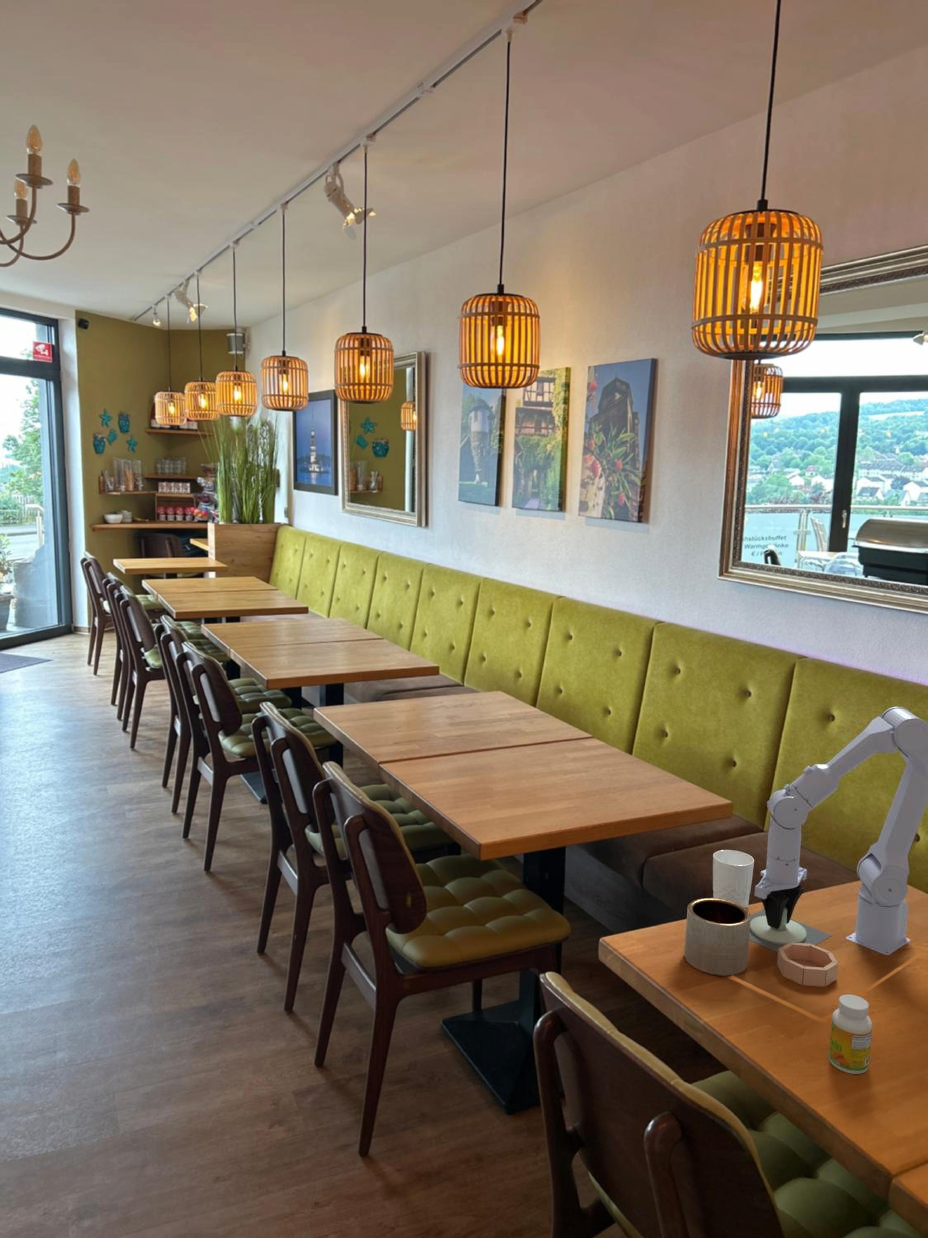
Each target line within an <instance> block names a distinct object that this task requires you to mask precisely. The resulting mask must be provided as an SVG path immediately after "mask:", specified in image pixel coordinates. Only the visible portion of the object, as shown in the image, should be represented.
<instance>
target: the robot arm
mask: <svg viewBox="0 0 928 1238" xmlns="http://www.w3.org/2000/svg"><path fill="white" fill-rule="evenodd" d="M896 748H897V750H898V752H899V753H900V755H901V756H902V758H903V759H904V761H905V763H906V764H905V767H904V770H903V773H902V775H901V778H900V781H899V782H898V783H899V784H898V787H897V789H896V792H895V795H894V796H893V797H894V798H893V800H892V802H891V804H890V808H889V811H888V814H887V816H886V819H885V822H884V824H883V826H882V830H881V832H880V835H879V837H878V840H877V841H876V842H874V843H873V844H871V845H870V847H869V849H868V851H867V853H866V854H865V856H862V858H860V860H859V861H858V863H857V867H856V873H857V877H858V878H859V879H860V880H861V881H860V882H862V883H861V887H860V888H859V890H858V898H857V914H856V924H855V931H854V932H853V933H852V934H850V935H847V936H846V937H845V939H846V940H848V941H850V942H853V943H855V944H858V945H860V946H863V947H865V948H867V949H871V950H873V951H875V952H878V953H880V954H882V955H885V956H890V955H891V954H893V953H894V952H896V951H897V950H898V949H900V948H902V947H903V946H904V945H906V944H908V943H910V942H911V939H910V938H908V937H906V935H907V925H908V916H909V906H908V903H907V901H906V897H907V895H908V892H909V887H908V877H909V874H910V867H909V860H908V859H909V856H908V855H909V852H910V850H911V848H912V845H913V842H914V839H915V837H916V835H917V832H918V829H919V827H920V824H921V821H922V819H923V815H924V813H925V810H926V808H927V805H928V722H927V721H925V720H924V719H921V718H920V717H917V715H915V714H913V713H912V712H911V710H909V709H907V708H906V707H904V706H903V707H902V706H893V707H889V708H887V709H886V710H885V711H884V712H882V714H881V715H880V716H876V717H874V718H873V719H872V720H871V721H870V723H869V724H868V725H867V726H866V727H865V728H864V730H862V732H860V733H859V734H858V735H857V736H856V737H855V738H853V740H851V741H850V742H849V743H848V744H847V745H846V746H845V747H844V748H843V749H842V750H840V751H839V752H838V753H837V754H835V756H833V757H832V759H831V760H829V761H828V762H827V763H826V764H825V763H824V764H823V763H822V764H821V763H815V764H814V765H812V766H810V765H807V766H806V767H805V768H804V769H803V772H804V773H802V774H801V775H800V776H799V777H798V778H796V779H795V780H793V782H791V783H790V784H788V783H787V784H785V785H784V786H783V788H782V789H781V790H780V789H778V790H776V791H774V792H773V793H772V794H771V796H769V800H767V801H766V807H767V809H768V811H769V813H770V814H771V815H770V819H769V828H768V837H767V849H766V851H767V852H766V853H767V854H766V863H765V865H766V866H765V867H766V868H765V869H764V870H761V871H760V873H759V875H760V876H761V877H762V878H761V879H760V881H759V883H758V884H757V885H755V886H754V897H757V898H758V899H760V901H761V903H762V905H763V909H765V914H766V919H767V924H768V926H771V927H773V928H775V929H778V928H779V927H780V924H781V920H782V914H783V910H784V907H786V908H787V921H786V924H788V923H789V922H790V919H792V916H793V913H794V910H795V907H796V906H797V903H798V901H799V899H800V898H801V896H802V895H803V893H804V892H805V888H804V886H802V885H800V883H801V881H805V880H807V877H808V876H807V875H808V874H807V873H808V870H807V869H806V868H803V867H800V857H801V843H802V825H804V824H805V823H806V821H807V819H808V815H809V812H810V811H812V810H813V809H814V808H816V807H817V806H818V805H820V803H822V802H824V800H826V799H827V798H828V797H830V796H831V795H833V793H835V792H836V791H837V790H839V784H840V779H841V778H843V777H844V776H846V775H847V774H848V773H850V772H851V771H853V770H854V769H855V768H857V767H858V766H859V765H861V764H863V763H864V762H865V761H866V760H868V759H870V758H871V757H872V756H874V755H875V754H897V753H898V752H897V750H896Z"/></svg>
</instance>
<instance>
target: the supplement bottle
mask: <svg viewBox="0 0 928 1238" xmlns="http://www.w3.org/2000/svg"><path fill="white" fill-rule="evenodd" d="M869 1007H870V1004H869V1002H868V1001H867V1000H866V999H864V998H863V997H861V996H859V995H855V994H850V993H849V994H842V995H841V996H839V998H838V1008H837V1009H835V1010H834V1011H833V1013H832V1016H831V1029H830V1038H829V1039H830V1042H829V1051H828V1058H829V1062H830V1063H831V1065H833V1066H834V1067H835V1068H836V1069H837V1070H839V1071H841V1072H844V1073H847V1074H851V1075H852V1074H853V1075H859V1074H860V1075H861V1074H864V1073H866V1072H867V1071H868V1070H869V1068H870V1067H869V1066H870V1060H871V1059H870V1058H871V1057H870V1056H871V1045H872V1035H873V1021H872V1020H871V1017H870V1016H869V1012H870V1011H869Z"/></svg>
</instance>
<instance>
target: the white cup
mask: <svg viewBox="0 0 928 1238" xmlns="http://www.w3.org/2000/svg"><path fill="white" fill-rule="evenodd" d="M712 858H713V859H712V890H713V897H712V898H717V899H723V900H728V901H731V902H734V903H737V904H739V905H741V906H743V907H744V908H745V909H747V907H748V906H749V902H750V901H749V900H750V894H751V888H752V882H753V873H754V865H755V859H754V858H753V856H751V854H748V853H745V852H743V851H740V850H732V849H721V850H718V851H715V852H713V854H712Z"/></svg>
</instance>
